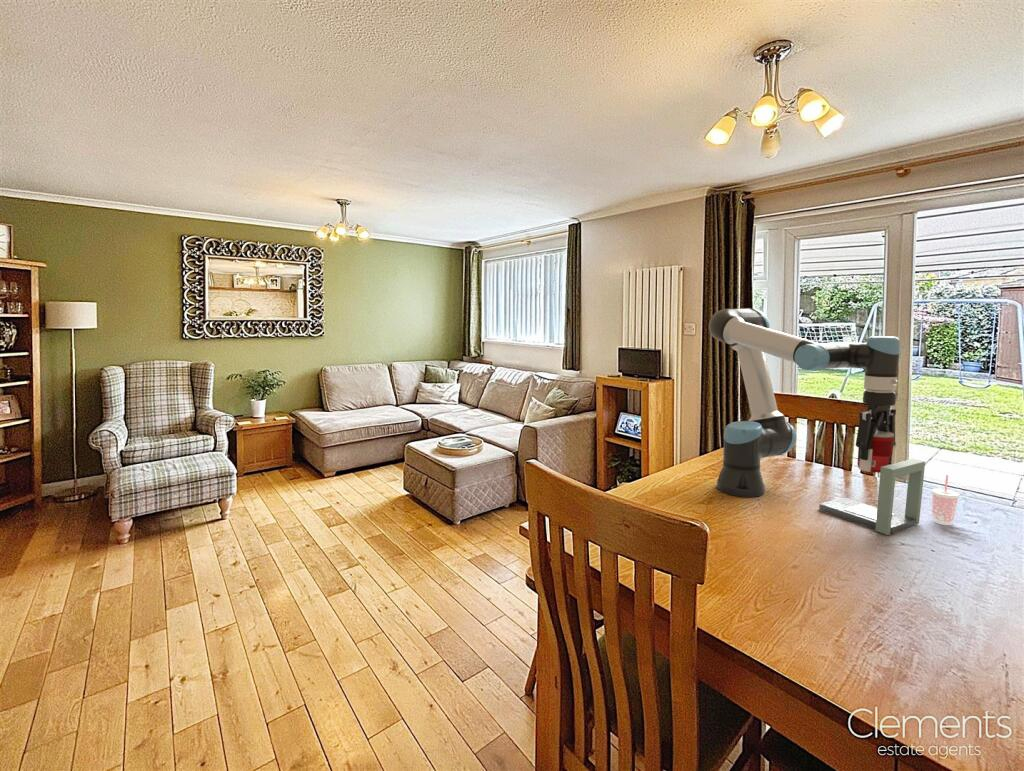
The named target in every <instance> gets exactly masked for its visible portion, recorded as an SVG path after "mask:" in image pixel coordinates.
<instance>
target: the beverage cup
mask: <svg viewBox="0 0 1024 771" xmlns="http://www.w3.org/2000/svg"><path fill="white" fill-rule="evenodd" d="M948 480H949V475H948V474H946V475H945V481H944V482H945V483H944V488H931V494H932V496H931V497H932V500H931V501H932V503H931V504H932V505H931V521H932V522H933V523H934V524H938V525H944V526H952V525H953V524H954V519H955V514H956V508H957V505H958V504H957V503H958V499H959V498H960V493H959V492H957V491H955V490H950V489H948V483H949V482H948Z"/></svg>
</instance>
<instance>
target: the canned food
mask: <svg viewBox="0 0 1024 771" xmlns="http://www.w3.org/2000/svg"><path fill="white" fill-rule="evenodd" d="M893 442H894V443H895V441H894V434H893V433H891V432H882V431H878V429H876V432H875V434H874V436H873V442H872V445H871V448H870V449H872V462H871V472H870V473H880V472H881V467H882V466H886V465H890V464H893V463H892V462H893V453H894V452H893V451H894V450H893V449H894V445H893ZM857 448H858V449H857V450H858V451H857V468H859V465H860V452H861V448H859V447H857Z"/></svg>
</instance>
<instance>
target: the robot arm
mask: <svg viewBox="0 0 1024 771" xmlns="http://www.w3.org/2000/svg"><path fill="white" fill-rule="evenodd" d="M770 325H771V324H770V320H769V318H768V316H767V315H766V313H764V312H763V311H761V310H759V309H758V308H757V309H756V308H750V307H746V308H724V309H720V310H718V311H716V312H715V313H714V314H712V316H711V318H710V319H709V322H708V331H709V334H710V335H711V336H712V337H713V338H714V340H717V341H719V342H721V343H722V342H723V343H726V344H727V345H731V349H732V350H734V351H736V353H737V356H738V360H739V365H740V369H741V373H742V374H741V375H742V379H743V383H744V386H745V387H744V388H745V392H746V396H747V401H748V403H749V408H750V412H751V414H750V415H751V417H749V419H748V420H743V421H742V420H739V421H733V422H730V423H729V424H727V425H726V426H725V428H724V434H723V456H722V458H723V460H722V461H723V462H722V468H721V470H720V472H719V476H718V478H717V480H716V489H717V488H718V489H719V490H718V489H717V490H718V491H721V493H724V494H727V495H732V496H735V497H744V498H754V497H760V496H763V495H764V494H765V488H766V486H765V483H764V479H763V477H762V476H763V475H762V473H761V460H762V459H763V458H770V457H777V456H782V455H784V454H786V453H789V452H791V451H792V450H793V448H794V447H795V446H796V442H797V431H796V429H795V427H794V426H793V425H792V424H791V423H789V422H787V421H786V417H785V415H784V414H783V413H781V412H780V411H779V410H778V405H777V400H776V397H775V392H774V388H773V384H772V380H771V377H770V376H771V375H770V372H769V371H770V370H769V367H768V364H767V359H766V358H767V357H766V354H768V355H771V356H774V357H777V358H780V359H783V360H786V361H789V362H791V363H794V364H796V365H797V366H798V368H800V369H802V370H804V371H810V372H811V371H819V370H820V371H821V370H829V369H830V370H831V369H842V368H851V369H864V382H863V389H865V390H864V391H863V392H862V393H863V395H862V396H863V397H862V403H863V404H865V405H867V408H866V411H864V412H863V411H862V412H859V415H858V416H859V423H858V428H857V434H856V439H855V446H856V447H857V448H861V452H860V465H859V467H858V469H859V470H860V471H864V472H869V473H872V472H871V462H872V449H870V448H871V445H872V442H873V436H874V434H875V432H876V430H878V431H882V432H891V433H893V434H894V442H893V446H894V445H895V441H896V413H897V409H895V408H891V407H893V406H895V405H896V402H897V401H896V400H897V393H896V392H895V391H897V387H898V386H897V385H898V384H899V380H898V374H899V373H898V370H899V360H900V355H901V351H900V350H901V349H900V348H901V344H900V343H901V340H900V338H899V337H897V336H889V335H888V336H880V335H877V336H876V335H875V336H874V335H873V336H872V335H871V336H869V337H868V338H867V340H866V342H849V341H847V342H846V341H830V342H827V343H820V342H816V341H812V340H809V339H806V338H802V337H799V336H795V335H793V334H792V335H791V334H790V333H789V334H788V333H785V332H782V331H778V330H774V329H772V328H770Z"/></svg>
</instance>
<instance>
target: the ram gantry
mask: <svg viewBox="0 0 1024 771" xmlns="http://www.w3.org/2000/svg"><path fill="white" fill-rule="evenodd" d="M925 468H926V461H925V460H920V459H916V458H911V459H907V460H903V461H898V462H894V463H892V464H890V465H886V466H882V467H881V472H880V474H879V483H878V484H879V485H878V495H877V506H876V507H877V517H876V529H874V530H875V532H878V533H881V534H884V535H886V536H888V535H891V534H890V531H891V520H892V512H893V510H894V509H893V508H894V507H893V506H894V497H895V496H894V495H895V488H896V486H895V484H896V479H899V480H904V481H905V480H907V489H906V500H905V510H904V516H907V517H910V518H913V519H916V524H915V526H917V525H919V524H920V518H921V510H922V509H921V507H922V498H923V497H922V496H923V488H924V487H923V485H924V478H925V477H924V476H925V470H926V469H925Z"/></svg>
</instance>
